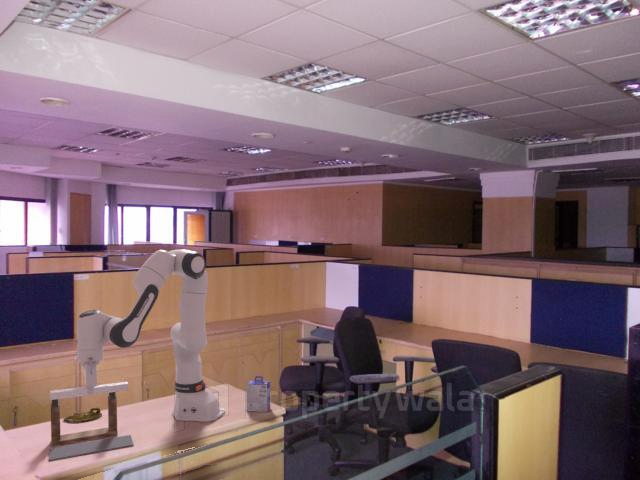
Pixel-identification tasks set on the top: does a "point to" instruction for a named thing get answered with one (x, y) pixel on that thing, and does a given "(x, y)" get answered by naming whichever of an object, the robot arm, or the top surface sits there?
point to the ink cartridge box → (258, 395)
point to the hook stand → (85, 435)
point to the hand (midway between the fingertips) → (90, 392)
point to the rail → (84, 390)
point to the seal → (84, 416)
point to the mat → (90, 447)
